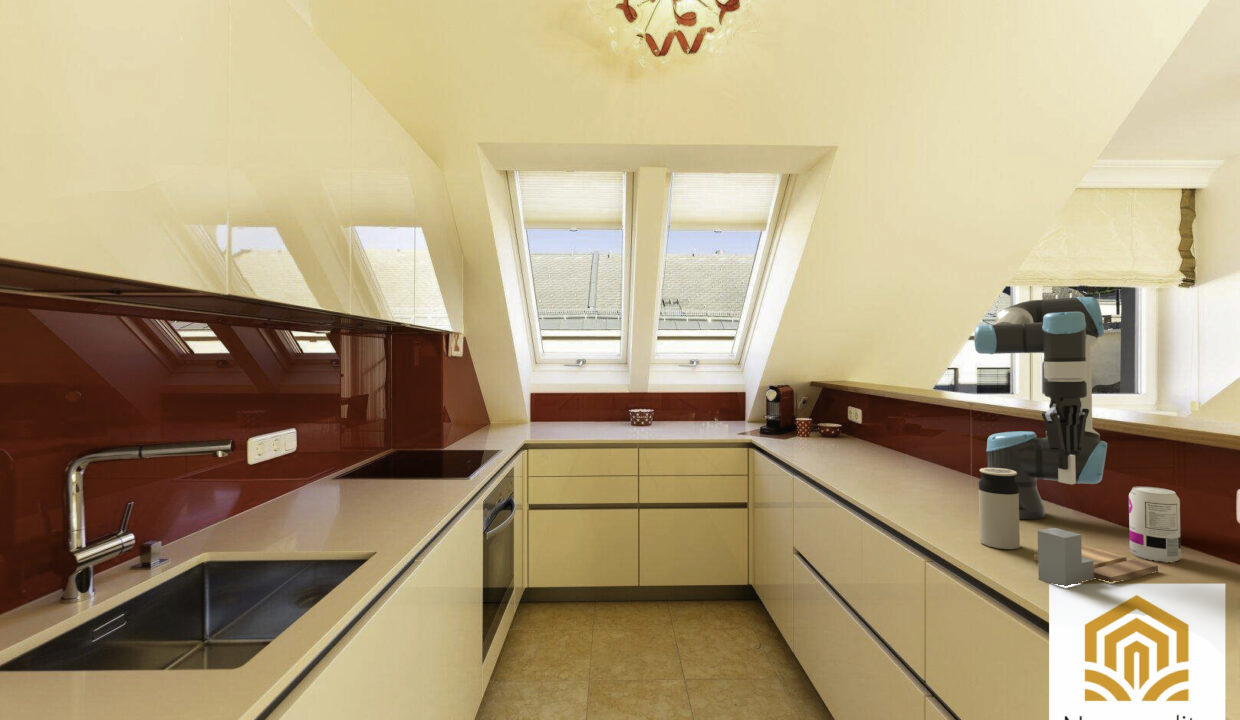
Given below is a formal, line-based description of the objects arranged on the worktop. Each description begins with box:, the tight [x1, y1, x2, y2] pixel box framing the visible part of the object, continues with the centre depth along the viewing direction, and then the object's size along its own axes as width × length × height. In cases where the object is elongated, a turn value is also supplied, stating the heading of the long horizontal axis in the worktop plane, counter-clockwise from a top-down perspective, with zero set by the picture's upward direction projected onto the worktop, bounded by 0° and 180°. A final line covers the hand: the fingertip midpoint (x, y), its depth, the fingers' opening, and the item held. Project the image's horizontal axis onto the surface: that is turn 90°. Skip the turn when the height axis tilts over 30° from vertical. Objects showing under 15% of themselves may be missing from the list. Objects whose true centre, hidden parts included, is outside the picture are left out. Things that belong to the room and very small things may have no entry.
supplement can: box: [1128, 486, 1182, 563], centre depth 123 cm, size 8×8×15 cm
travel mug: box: [978, 467, 1021, 551], centre depth 133 cm, size 8×8×18 cm
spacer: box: [1037, 527, 1095, 586], centre depth 111 cm, size 10×5×10 cm, turn 110°
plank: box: [1033, 544, 1128, 569], centre depth 121 cm, size 16×9×1 cm, turn 111°
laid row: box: [1094, 558, 1159, 582], centre depth 114 cm, size 16×5×1 cm, turn 111°
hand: (1067, 482), depth 125 cm, fingers closed
